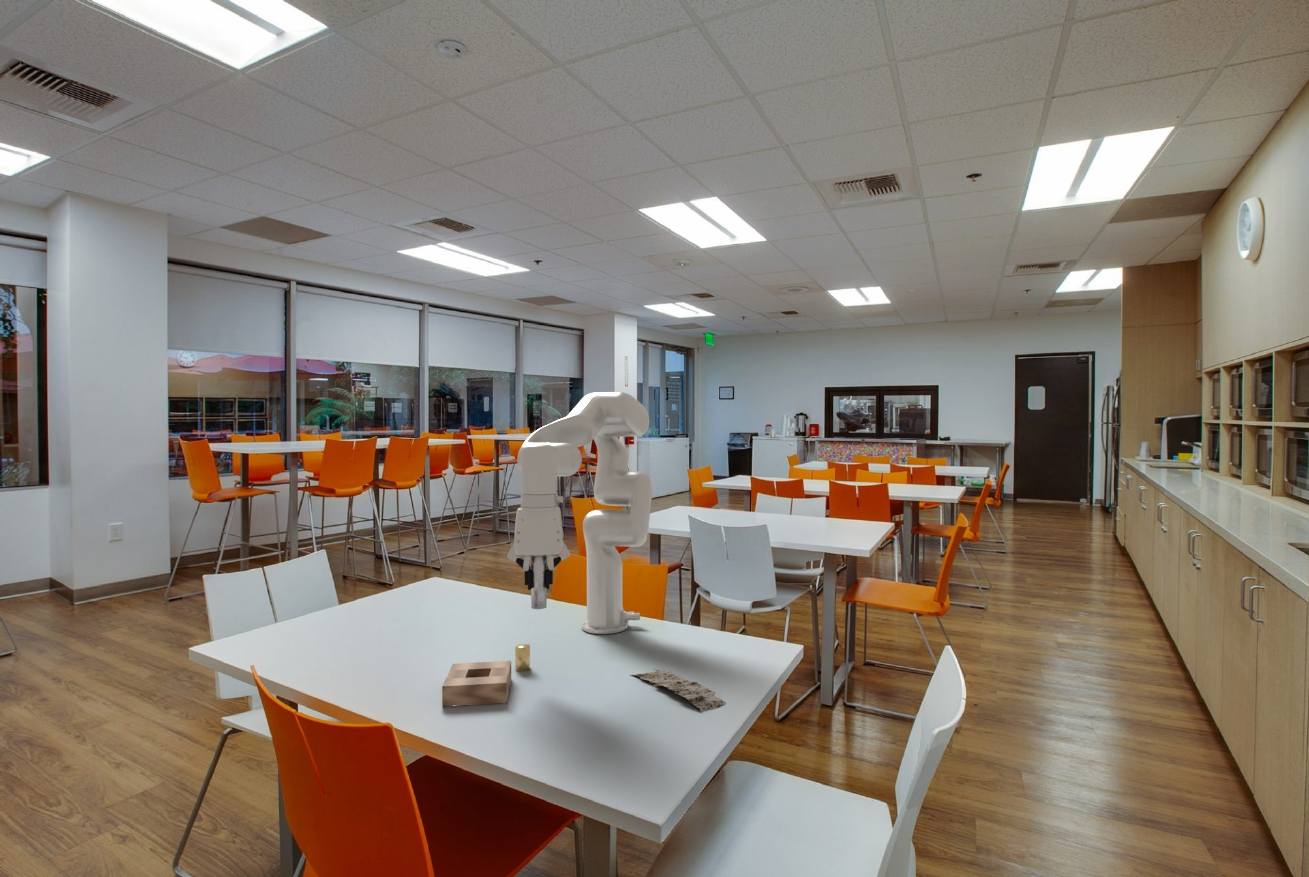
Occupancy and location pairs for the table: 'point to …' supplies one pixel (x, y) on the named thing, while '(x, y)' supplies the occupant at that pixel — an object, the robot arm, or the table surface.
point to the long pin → (538, 582)
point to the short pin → (522, 657)
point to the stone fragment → (684, 689)
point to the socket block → (477, 683)
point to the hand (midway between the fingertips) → (538, 587)
